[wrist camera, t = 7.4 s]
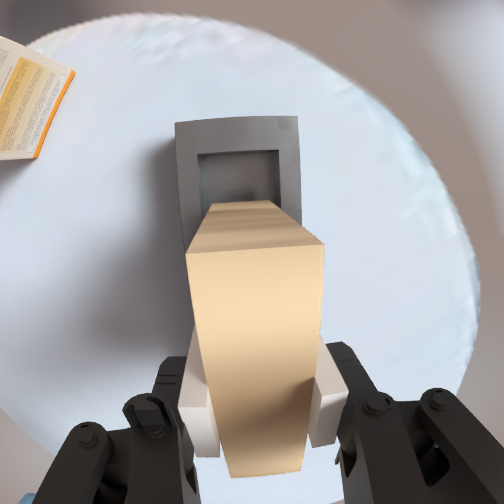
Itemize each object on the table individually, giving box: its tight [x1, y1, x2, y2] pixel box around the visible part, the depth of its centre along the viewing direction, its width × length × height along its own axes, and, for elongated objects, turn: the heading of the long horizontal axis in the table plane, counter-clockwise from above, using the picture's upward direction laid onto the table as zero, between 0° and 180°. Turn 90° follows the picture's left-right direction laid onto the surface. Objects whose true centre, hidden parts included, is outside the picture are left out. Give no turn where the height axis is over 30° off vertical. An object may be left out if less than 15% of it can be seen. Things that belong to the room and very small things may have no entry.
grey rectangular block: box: [175, 116, 302, 320], centre depth 19 cm, size 20×7×4 cm, turn 3°
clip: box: [185, 200, 324, 478], centre depth 12 cm, size 10×3×9 cm, turn 3°
